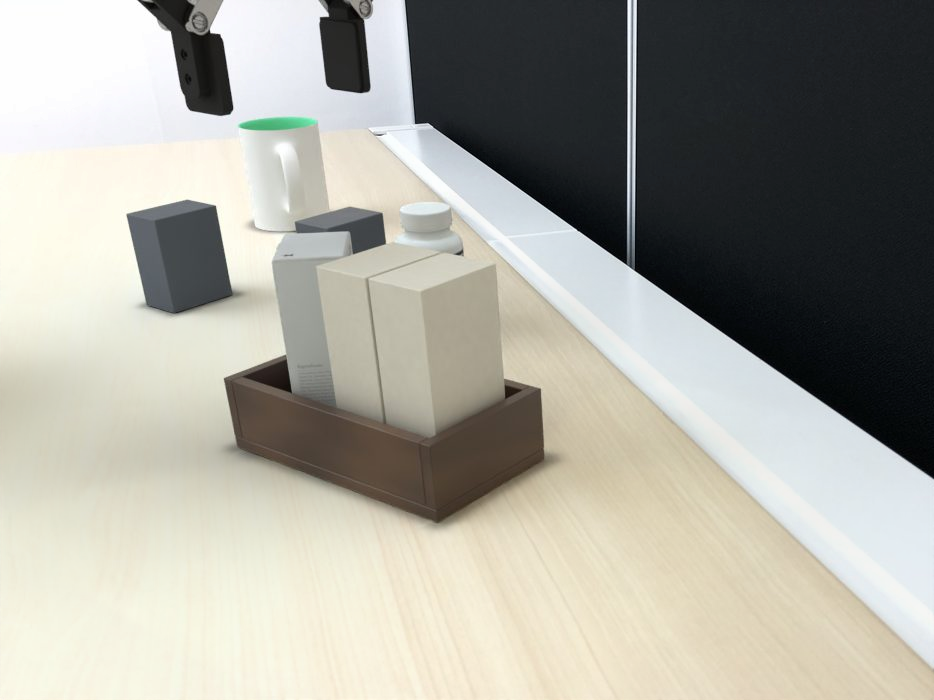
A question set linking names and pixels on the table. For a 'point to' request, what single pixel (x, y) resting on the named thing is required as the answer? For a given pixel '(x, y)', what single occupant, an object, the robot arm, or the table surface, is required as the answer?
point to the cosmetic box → (306, 309)
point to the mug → (284, 171)
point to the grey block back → (180, 255)
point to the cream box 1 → (358, 323)
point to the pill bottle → (429, 228)
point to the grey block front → (349, 226)
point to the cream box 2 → (438, 342)
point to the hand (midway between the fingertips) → (283, 101)
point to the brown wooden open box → (387, 443)
